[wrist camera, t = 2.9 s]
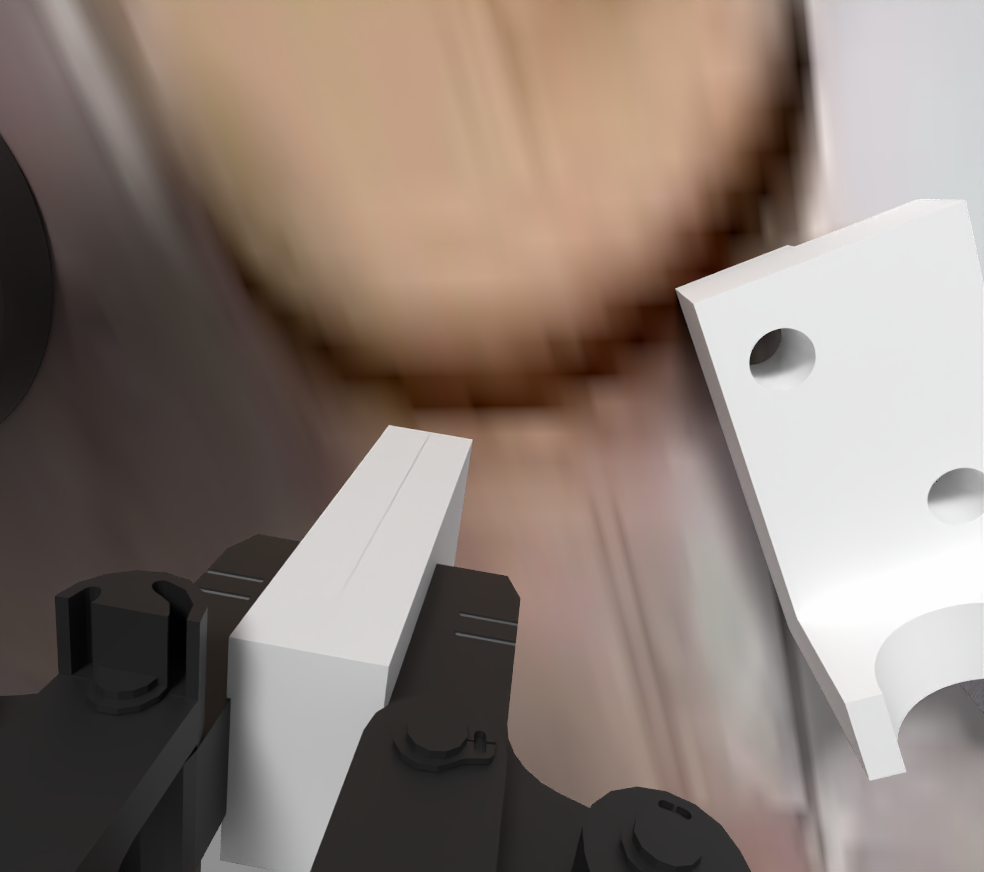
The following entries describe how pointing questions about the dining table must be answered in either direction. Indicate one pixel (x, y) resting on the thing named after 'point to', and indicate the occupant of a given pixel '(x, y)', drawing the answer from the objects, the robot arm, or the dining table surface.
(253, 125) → the dining table surface
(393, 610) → the robot arm
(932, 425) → the bracket
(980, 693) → the u-shaped rail frame
